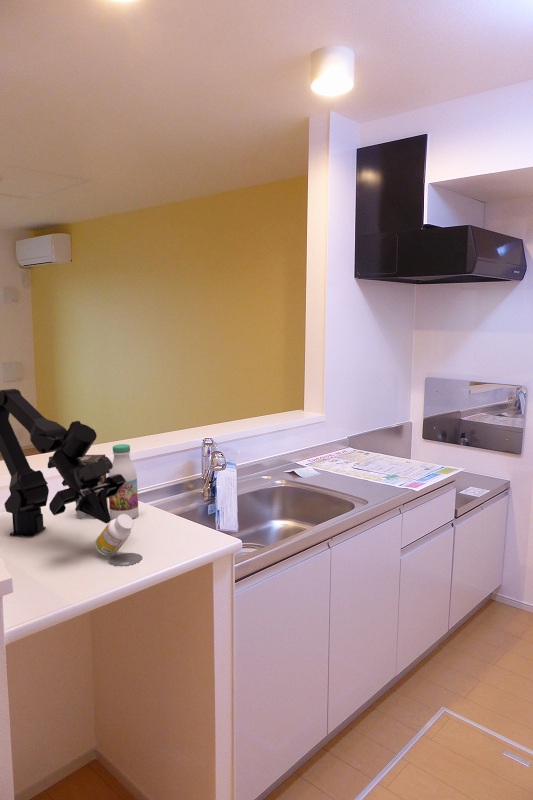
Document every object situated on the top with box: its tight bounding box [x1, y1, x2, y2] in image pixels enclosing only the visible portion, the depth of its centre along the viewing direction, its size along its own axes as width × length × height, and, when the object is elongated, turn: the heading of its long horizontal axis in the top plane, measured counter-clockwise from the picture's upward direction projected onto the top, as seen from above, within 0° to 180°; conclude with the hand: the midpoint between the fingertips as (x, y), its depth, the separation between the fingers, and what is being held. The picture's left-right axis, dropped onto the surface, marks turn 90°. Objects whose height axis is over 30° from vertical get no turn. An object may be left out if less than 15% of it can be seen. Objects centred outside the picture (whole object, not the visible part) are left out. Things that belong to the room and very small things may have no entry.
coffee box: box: [75, 454, 109, 519], centre depth 164 cm, size 9×6×16 cm
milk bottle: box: [107, 443, 139, 520], centre depth 161 cm, size 8×8×20 cm
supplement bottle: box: [95, 514, 134, 557], centre depth 133 cm, size 5×5×10 cm
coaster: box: [107, 552, 143, 568], centre depth 132 cm, size 8×8×1 cm
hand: (108, 522), depth 133 cm, fingers closed
